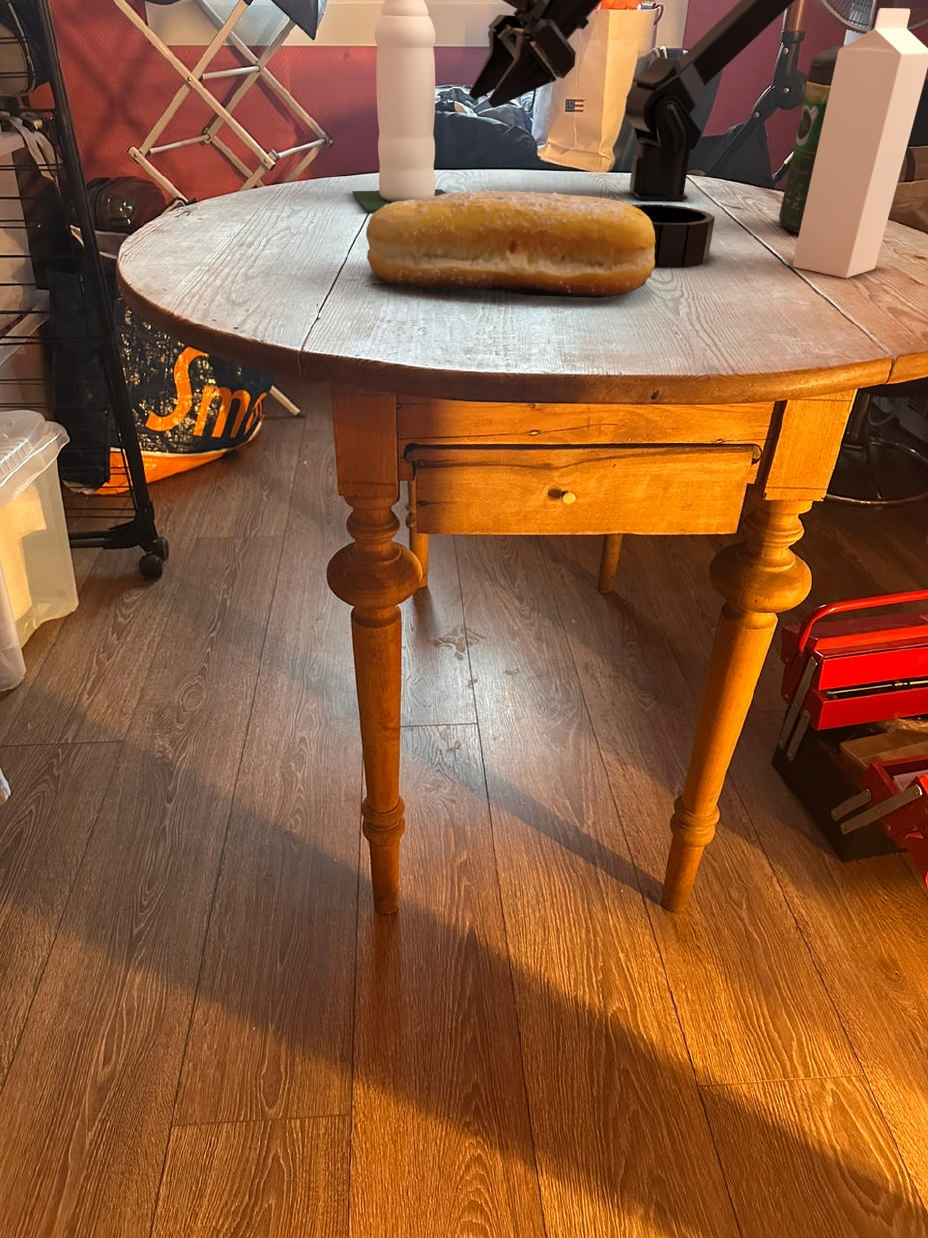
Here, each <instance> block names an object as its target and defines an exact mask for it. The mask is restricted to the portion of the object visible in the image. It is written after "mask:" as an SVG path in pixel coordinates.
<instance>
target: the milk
mask: <svg viewBox="0 0 928 1238" xmlns="http://www.w3.org/2000/svg"><path fill="white" fill-rule="evenodd" d="M910 15H911V9H910V8H891V7H890V8H889V7H888V8H887V7H885V8H884V7H883V8H882V7H880V8H879V9H878V11H877V15H876V19H875V24H874V27H873V29H872V30H870V31H868V32H866V33H864V34H862V35H861V36H859V37H857V38H856V39H854V40H853V41H851V42H849V43H848V44H845V45H846V46H844V47H843V48H841V49H839V51H838V56H837V60H836V65H835V70H834V74H833V79H832V84H831V88H830V93H829V98H828V102H827V107H826V112H825V116H824V121H823V126H822V130H821V135H820V140H819V144H818V149H817V154H816V158H815V163H814V168H813V172H812V177H811V182H810V186H809V191H808V196H807V200H806V205H805V210H804V214H803V219H802V224H801V228H800V233H798V238H797V243H796V246H795V252H794V258H793V262H792V267H793V268H797V269H803V270H807V271H811V272H816V273H819V274H825V275H829V276H832V277H833V276H834V277H838V278H842V279H847V278H851V277H855V276H857V275H860V274H863V273H866V272H870V271H872V270H875V268H876V265H877V262H878V258H879V255H880V250H881V248H882V243H883V239H884V236H885V231H886V228H887V223H888V219H889V216H890V212H891V209H892V206H893V205H892V204H893V201H894V198H895V194H896V189H897V186H898V182H899V178H900V174H901V171H902V166H903V163H904V159H905V156H906V151H907V147H908V144H909V141H910V137H911V133H912V129H913V125H914V121H915V117H916V114H917V110H918V106H919V104H920V103H919V102H920V99H921V95H922V91H923V88H924V83H925V79H926V75H927V71H928V47H927V46H926V45H925V44H924V43H922V41H920V39H918V38H917V37H916V35H914V34H913V33H912V32H911V31H910V30H909V29H908V23H909V19H910Z"/></svg>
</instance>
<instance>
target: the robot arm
mask: <svg viewBox="0 0 928 1238" xmlns="http://www.w3.org/2000/svg"><path fill="white" fill-rule="evenodd" d="M502 1H503V2H504V3H506V4H508V5H509V6H510V7H513V8H514V9H515V11H514V12H513V13H512V15H511V14H498V15H497V16H495V18H494V19H493V21H492V22H491V23H489V25H488V29H489V30H488V33H487V37H488V45H489V51H488V53H487V56H486V58H485V61H484V63H483V65H482V67H481V68H480V70H479V72H478V74H477V76H476V78H475V80H474V82H473V83H472V86H471V88H470V90H469V92H468V94H469V96H470V97H471V99H472V100H474V101H477V100H479V99H480V98H482V97H484V96H486V95H488V94H489V93H491V95H490V96H489V98H488V100H487V102H488V104H489V105H490V106H491V108H493V109H496V108H498V107H501V106H502V105H505V104H506V103H509V102H511V101H514V100H515V99H517V98H520V97H521V96H524V95H526V94H528V93H530V92H532V91H534V90H537V89H539V88H542V87H544V86H546V85H548V84H551V83H555V82H557V78H559V79H565V77H566V76H567V75H568V74H569V73H570V72H571V71H572V70H573V69H574V67H575V65H576V54H577V53H576V50H575V49H574V48H573V46H572V45H571V44H570V42H569V41H568V40H569V39H570V38H571V36H572V35H573V34H574V33H575V32H576V31H577V30H578V29H579V30H584V29H585V28H586V27H587V26H588V25H589V24H590V21H589V20H588V17H589V16H590V15H591V13H592V12H594V10H595V9H596V8H597V7H598V6H599V5H600V4H601V3H602V1H603V0H502ZM795 2H796V0H740V1H739V2H738V3H737V4H736V5H735V6H733V7H732V8H731V9H730V10H729V11H728V12H727V13H726V14H725V15H724V16H723V17H722V18H721V19H720V20H719V21H717V22H716V24H714V26H712V28H710V29H709V30H708V31H707V32H706V33H705V34H704V35H703V36H702V37H701V38H700V39H699V40H698V41H697V42H696V43H695V44H694V45H692V47H690V49H688V50H687V52H685V53H684V54H683V55H682V56H681V57H679V58H678V59H674V58H668V57H663V56H662V57H661V56H658V57H656V58H655V59H654V60H653V61H652V62H651V64H650V65H649V67H648V68H647V69H646V70H645V71H644V72H643V73H642V74H640V75H639V76H637V77H635V78H633V79H632V82H633V83H635V84H634V85H633V86H632V88H630V90H629V91H628V93H627V94H626V97H625V99H626V101H625V107H624V108H625V109H624V110H625V116H626V118H627V122H628V123H629V124H630V125H631V126H632V128H633V132H634V138H635V141H636V142H638V146H637V155H634V156H633V157H632V163H631V170H630V179H629V192H630V193H631V194H632V195H634V197H636V198H637V199H639V200H655V201H658V200H660V201H662V200H664V201H687V200H688V195H687V194H686V193H685V188H686V181H687V175H688V167H689V162H690V155H691V151H692V150H695V148H696V147H697V145H698V143H699V141H700V138H701V135H702V131H701V129H700V128H699V126H698V125H697V124H696V122H695V121H694V119H693V118H692V116H691V115H690V114H691V113H692V112H693V111H694V109H695V108H696V107H697V104H698V102H699V100H700V98H701V96H702V94H703V92H704V90H705V87H706V86H707V85H708V84H709V83H710V81H712V80H713V79H714V78H715V77H716V76H717V75H718V74H719V73H720V72H721V71H722V70H724V68H726V66H728V65H729V64H730V63H731V62H732V61H733V60H734V59H735V58H737V56H738V55H739V54H741V52H742V51H744V50H745V49H746V48H747V47H748V46H749V45H750V44H751V43H752V42H753V41H754V40H755V39H756V38H758V36H759V35H761V34H762V33H763V32H764V31H765V30H766V29H767V28H768V27H769V26H770V25H771V24H773V23H774V22H775V21H776V19H777V18H778V17H780V16H781V15H782V14H783V13H784V12H786V10H787V9H788V8H789V7H790V6H791V5H792V4H794V3H795Z"/></svg>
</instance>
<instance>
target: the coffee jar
mask: <svg viewBox="0 0 928 1238" xmlns="http://www.w3.org/2000/svg"><path fill="white" fill-rule="evenodd" d="M846 45H847V44H845V45H835V46H828V47H826V48H825V49H824V50H823V51H821V52H819V53H817V54H816V55H814V57H813V58H812V60H811V63H810V67H809V71H808V74H807V78H806V79H807V81H806V84H805V89H804V97H803V104H802V110H801V114H800V118H799V119H800V120H799V125H798V129H797V133H796V138H795V143H794V147H793V151H792V152H793V153H792V157H791V162H790V166H789V170H788V175H787V177H786V178H787V179H786V183H785V187H784V191H783V196H782V201H781V205H780V208H779V209H780V210H779V215H778V219H779V222H780V223H781V225H782V226H783V227H785V228H787V230H790V231H792V232H794V233H797V234H799V233H800V228H801V224H802V219H803V214H804V210H805V205H806V200H807V196H808V191H809V186H810V182H811V177H812V172H813V168H814V163H815V158H816V154H817V149H818V144H819V140H820V135H821V130H822V126H823V121H824V116H825V112H826V107H827V102H828V98H829V93H830V88H831V84H832V79H833V74H834V70H835V65H836V60H837V56H838V51H839V49H841V48H843V47H844V46H846Z"/></svg>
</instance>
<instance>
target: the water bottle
mask: <svg viewBox="0 0 928 1238" xmlns="http://www.w3.org/2000/svg"><path fill="white" fill-rule="evenodd" d="M436 36H437V35H436V29H435V27H434V24H433V21H432V18H431V16H429V10H428V7H427V4H426V2H425V1H424V0H385V1H384V3H383V5H382V7H381V14H380V15H379V18H378V20H377V23H376V26H375V30H374V39H375V44H376V46H377V47H376V61H375V63H376V65H375V66H376V67H375V69H376V71H375V72H376V73H375V78H376V79H375V80H376V81H375V82H376V83H375V84H376V111H377V123H378V133H379V135H378V141H377V151H378V152H377V153H378V154H377V155H378V161H379V172H378V191H379V193H380V195H381V197H382V198H383V199H385V200H388V201H392V202H397V201H406V200H411V199H413V200H419V199H425V198H430V197H433V196H434V194H435V190H436V175H435V169H434V167H435V166H434V165H435V157H436V144H435V143H436V142H435V136H434V129H435V117H436V114H435V113H436V65H435V63H436V62H435V51H434V50H435V49H434V46H435V43H436Z"/></svg>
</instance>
